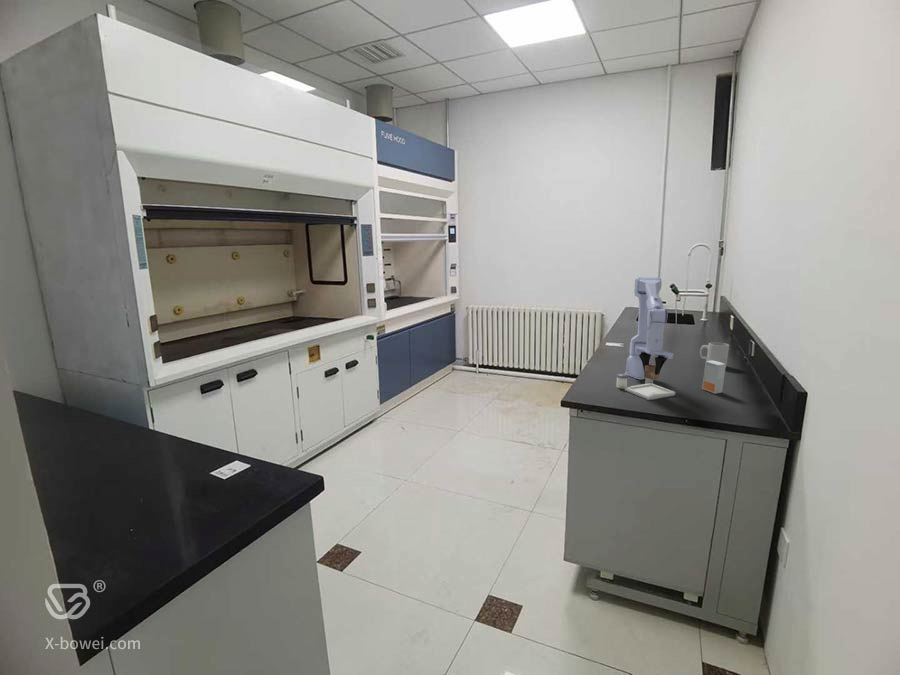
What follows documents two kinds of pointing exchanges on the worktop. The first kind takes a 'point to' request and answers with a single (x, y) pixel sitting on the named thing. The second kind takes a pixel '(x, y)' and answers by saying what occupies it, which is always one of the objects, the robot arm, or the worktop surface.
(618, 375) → the sample jar
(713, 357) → the mug
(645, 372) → the walnut block
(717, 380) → the skincare box
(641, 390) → the tray
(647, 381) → the rubber stopper
